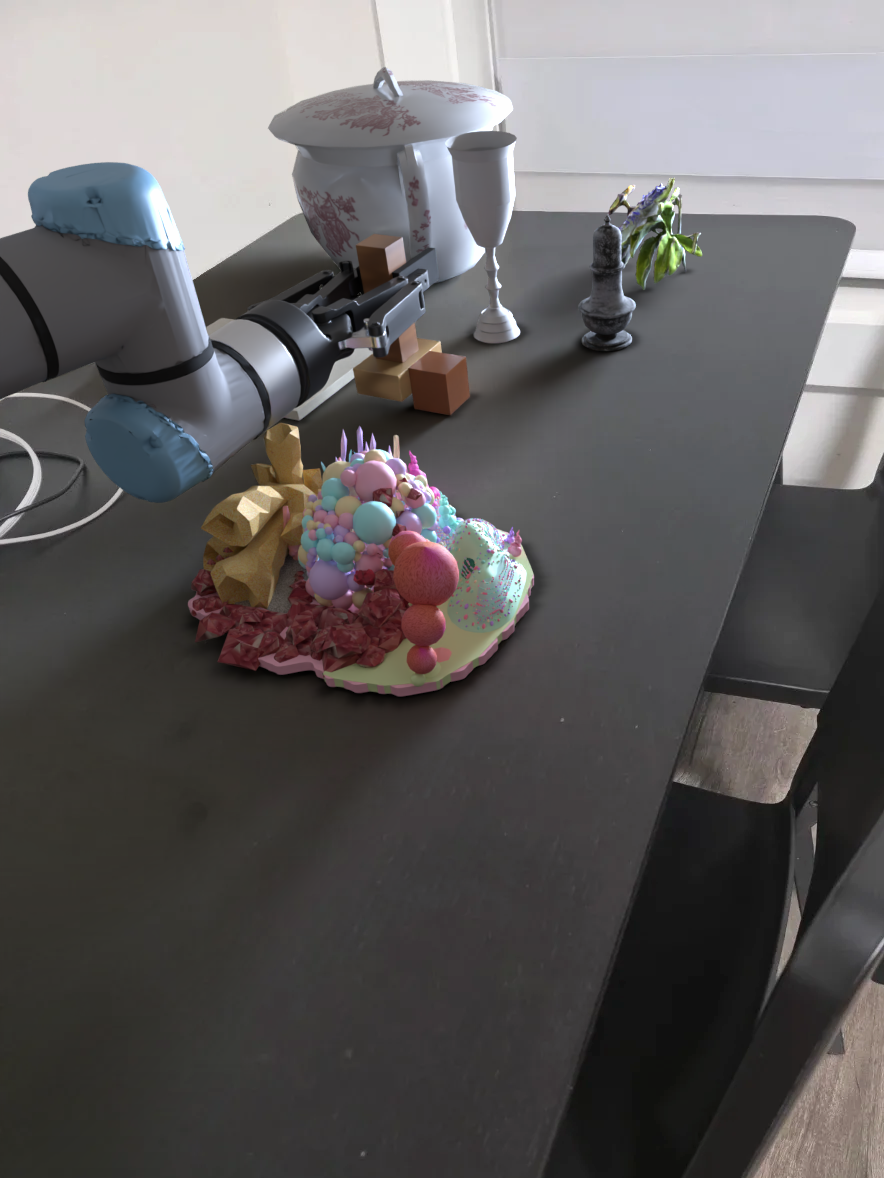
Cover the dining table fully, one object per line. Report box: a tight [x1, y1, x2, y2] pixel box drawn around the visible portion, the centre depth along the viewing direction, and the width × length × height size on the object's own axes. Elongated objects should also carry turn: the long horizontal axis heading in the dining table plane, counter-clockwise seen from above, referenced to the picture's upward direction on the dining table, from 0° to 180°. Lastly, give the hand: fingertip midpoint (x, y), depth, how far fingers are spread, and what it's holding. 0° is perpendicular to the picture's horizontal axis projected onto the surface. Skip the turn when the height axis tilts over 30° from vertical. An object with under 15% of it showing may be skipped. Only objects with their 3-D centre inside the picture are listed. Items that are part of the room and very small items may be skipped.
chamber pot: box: [267, 66, 514, 286], centre depth 105 cm, size 28×28×21 cm
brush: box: [353, 234, 443, 403], centre depth 82 cm, size 5×8×12 cm, turn 155°
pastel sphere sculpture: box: [187, 422, 535, 697], centre depth 63 cm, size 25×24×9 cm
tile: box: [205, 317, 373, 421], centre depth 93 cm, size 22×16×1 cm
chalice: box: [445, 130, 521, 344], centre depth 91 cm, size 7×7×18 cm
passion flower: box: [607, 177, 703, 291], centre depth 105 cm, size 11×11×12 cm
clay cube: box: [408, 351, 471, 416], centre depth 85 cm, size 4×4×4 cm
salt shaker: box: [577, 214, 637, 352], centre depth 90 cm, size 6×6×12 cm
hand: (416, 261), depth 84 cm, fingers closed on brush, 3 cm apart
